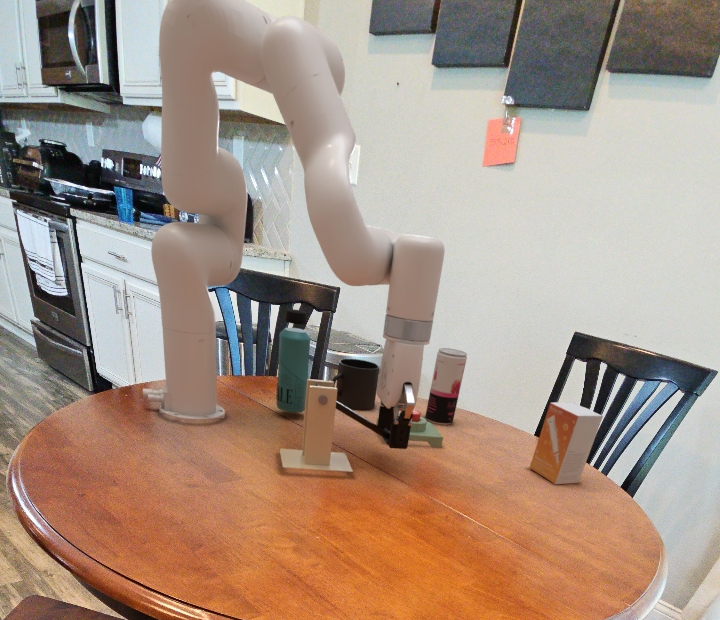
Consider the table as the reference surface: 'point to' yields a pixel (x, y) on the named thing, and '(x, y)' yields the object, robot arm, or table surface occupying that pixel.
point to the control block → (425, 433)
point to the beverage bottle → (293, 364)
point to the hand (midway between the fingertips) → (391, 438)
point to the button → (416, 416)
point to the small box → (565, 442)
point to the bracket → (317, 432)
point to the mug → (357, 383)
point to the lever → (363, 421)
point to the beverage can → (445, 386)
